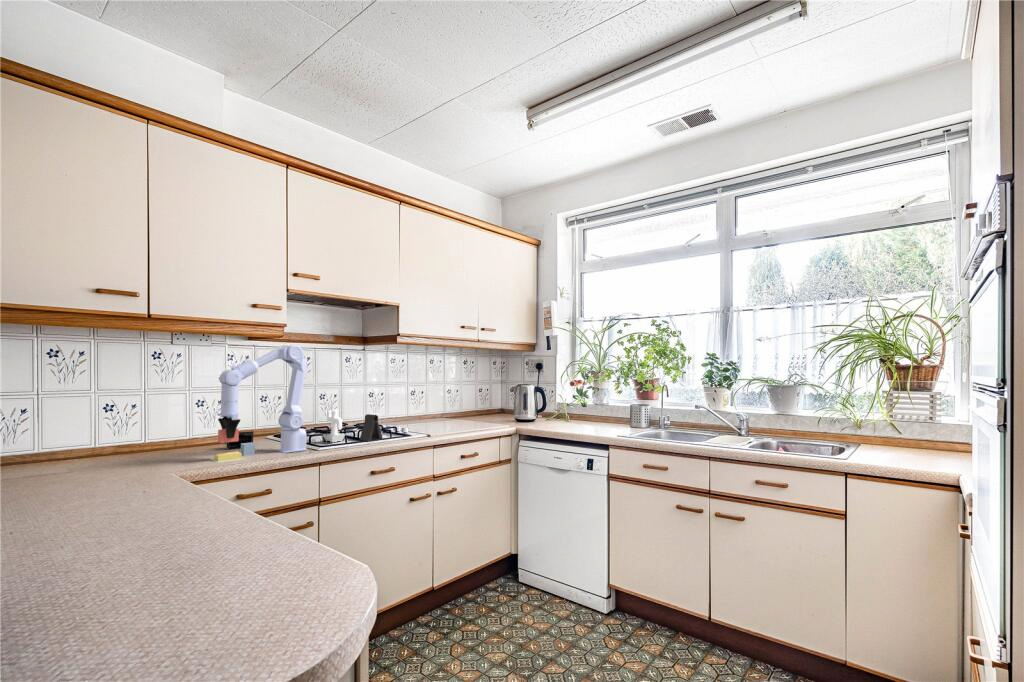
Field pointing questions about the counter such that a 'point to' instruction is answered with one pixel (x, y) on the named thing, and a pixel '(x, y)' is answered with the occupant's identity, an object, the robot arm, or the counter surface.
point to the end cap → (241, 440)
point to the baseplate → (226, 460)
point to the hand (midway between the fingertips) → (228, 437)
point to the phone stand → (371, 429)
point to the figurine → (334, 426)
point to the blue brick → (248, 448)
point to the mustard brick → (228, 456)
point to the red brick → (223, 436)
